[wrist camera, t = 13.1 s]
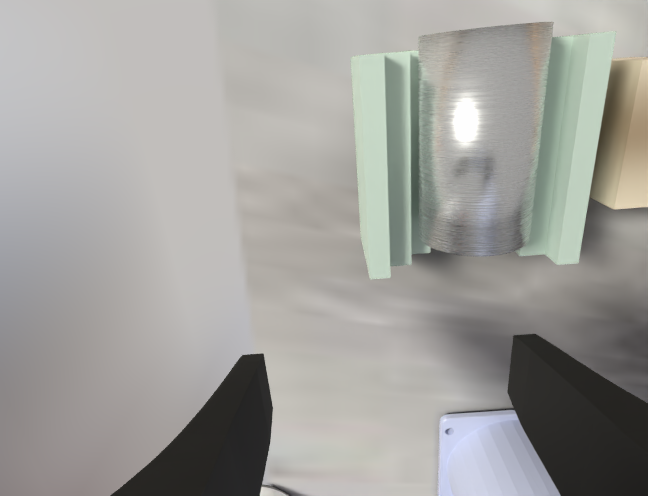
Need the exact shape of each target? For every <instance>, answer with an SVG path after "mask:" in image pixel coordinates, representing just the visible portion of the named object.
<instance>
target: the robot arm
mask: <svg viewBox="0 0 648 496" xmlns="http://www.w3.org/2000/svg"><path fill="white" fill-rule="evenodd" d="M508 394H509V397H510V399H511V402H512V405H513V407H514V410H503V411H488V412H473V413H458V414H447V415H444V416H442V417H441V419H440V427H439V464H438V496H648V403H646V402H645V401H643V400H641V399H639V398H638V397H636V396H634V395H632V394H631V393H629V392H627V391H625V390H624V389H622V388H620V387H618V386H617V385H615V384H613V383H612V382H610V381H608V380H607V379H605V378H604V377H602V376H600V375H599V374H597V373H596V372H594V371H592V370H591V369H589V368H588V367H586V366H585V365H583V364H582V363H580V362H578V361H577V360H575V359H574V358H572V357H571V356H569V355H568V354H566V353H565V352H563V351H562V350H560V349H559V348H557V347H555V346H554V345H552V344H551V343H549V342H548V341H546V340H545V339H543V338H541V337H540V336H538V335H536V334H528V335H514V336H513V346H512V355H511V365H510V374H509V383H508ZM272 411H273V406H272V401H271V395H270V389H269V383H268V378H267V372H266V366H265V360H264V354H250V355H242V356H241V357H240V359H239V360H238V361H237V363H236V364H235V365H234V367H233V368H232V370H231V371H230V372H229V374H228V375H227V376H226V378H225V379H224V381H223V382H222V383H221V385H220V386H219V387H218V389H217V390H216V391H215V392H214V394H213V395H212V396H211V398H210V399H209V400H208V401H207V402H206V404H205V405H204V406H203V408H202V409H201V410H200V411H199V412H198V413H197V414H196V416H195V417H194V418H193V419H192V420H191V421H190V422H189V424H188V425H187V426H186V427H185V428H184V429H183V430H182V432H181V433H180V434H179V435H178V436H177V437H176V438H175V439H174V440H173V441H172V442H171V443H170V444H169V445H168V446H167V447H166V448H165V449H164V450H163V451H162V452H161V453H160V454H159V455H158V456H157V457H156V458H155V459H154V460H152V461H151V462H150V463H149V464H148V465H147V466H146V467H145V468H143V469H142V470H141V471H140V472H139V473H137V474H136V475H135V476H134V477H133V478H131V480H129V481H128V482H127V483H126V484H124V485H123V486H122V487H121V488H120V489H118V490H117V491H116V492H114V493H113V494H112V495H111V496H260V492H261V486H262V481H263V476H264V471H265V466H266V461H267V456H268V451H269V445H270V438H271V426H272ZM449 428H451V429H449ZM447 429H449V430H447Z"/></svg>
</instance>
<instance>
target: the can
mask: <svg viewBox="0 0 648 496" xmlns="http://www.w3.org/2000/svg"><path fill="white" fill-rule="evenodd" d="M260 496H289V495H288V494H287V493H285V492H283V491H282V490H280V489H277V488H275V487H272V486H268V485H262V486H261V492H260Z"/></svg>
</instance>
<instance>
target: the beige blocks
mask: <svg viewBox="0 0 648 496" xmlns="http://www.w3.org/2000/svg"><path fill="white" fill-rule="evenodd" d="M589 197H590V198H592V199H594V200H596V201H598V202H600V203H602V204H604V205H606V206H608V207H610V208H612V209H614V210H615V209H627V208H640V207H648V57H629V58H618V59H612V61H611V67H610V73H609V80H608V86H607V92H606V98H605V104H604V110H603V116H602V122H601V128H600V134H599V140H598V146H597V152H596V159H595V165H594V171H593V177H592V183H591V189H590V195H589Z"/></svg>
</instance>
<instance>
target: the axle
mask: <svg viewBox="0 0 648 496" xmlns="http://www.w3.org/2000/svg"><path fill="white" fill-rule="evenodd" d="M552 31H553V22H539V23H526V24H515V25H504V26H495V27H485V28H476V29H468V30H459V31H451V32H444V33H437V34H430V35H424V36H420V37H418V74H419V238H420V240H421V241H422V242H423V243H424V244H426V245H427V246H429V247H431V248H433V249H436V250H439V251H442V252H446V253H450V254H456V255H464V256H494V255H501V254H507V253H510V252H514V251H517V250H519V249H521V248H523V247H524V246H526V245H527V244H528V242H529V240H530V231H531V222H532V213H533V204H534V195H535V185H536V176H537V167H538V158H539V149H540V140H541V131H542V122H543V113H544V104H545V95H546V86H547V76H548V67H549V58H550V49H551V40H552Z"/></svg>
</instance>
